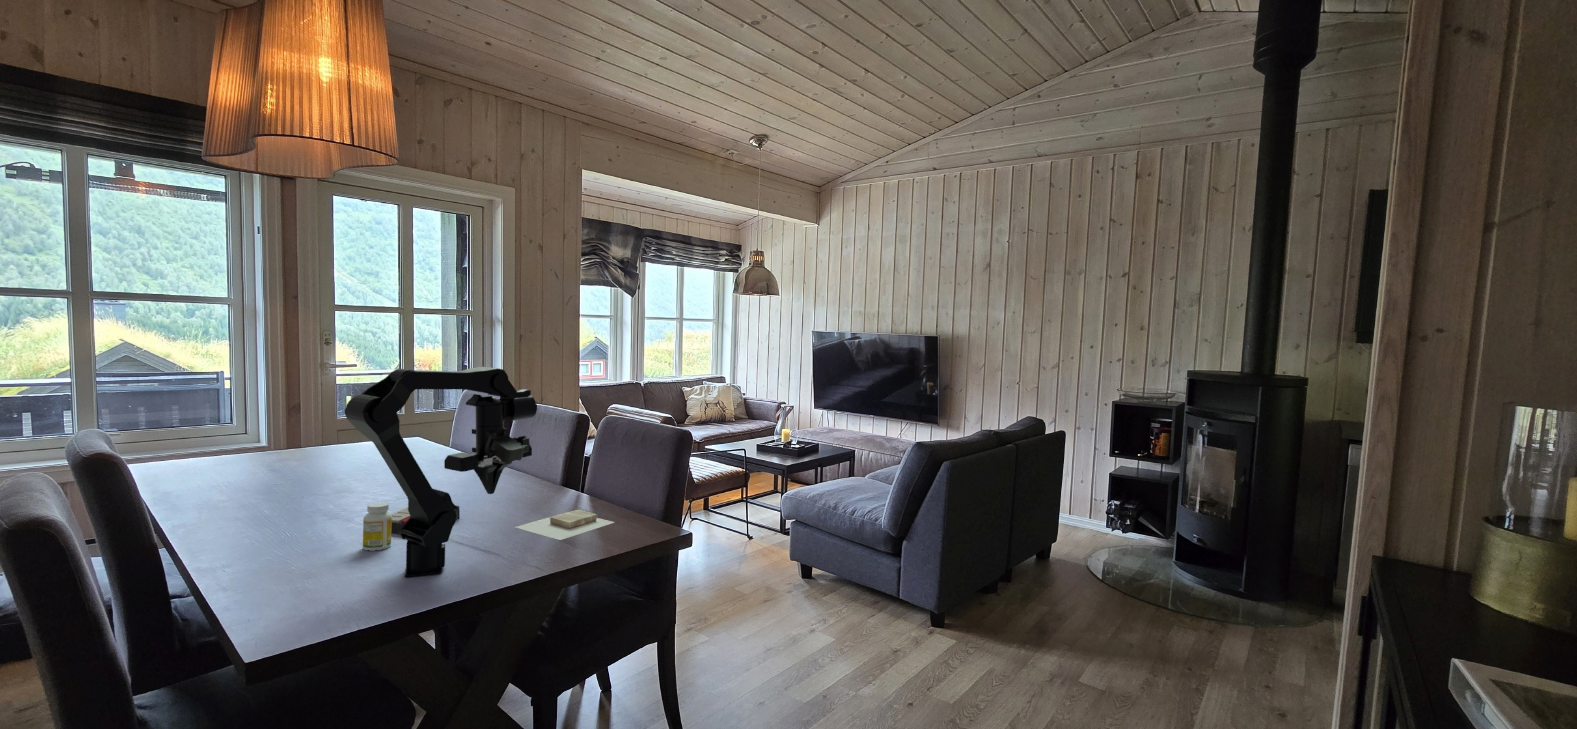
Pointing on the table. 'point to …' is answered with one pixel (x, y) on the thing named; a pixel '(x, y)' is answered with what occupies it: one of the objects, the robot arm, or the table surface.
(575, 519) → the tile
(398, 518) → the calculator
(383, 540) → the supplement bottle
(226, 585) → the table surface
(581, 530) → the mat
